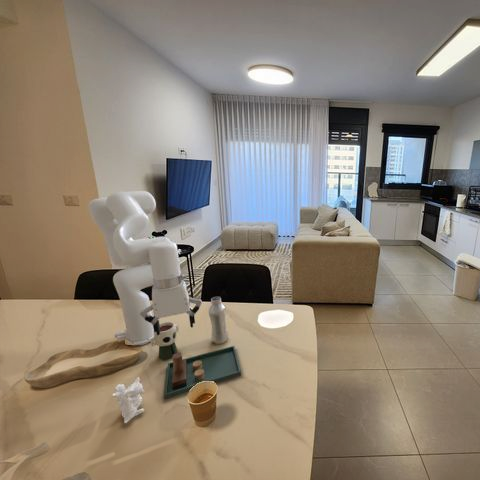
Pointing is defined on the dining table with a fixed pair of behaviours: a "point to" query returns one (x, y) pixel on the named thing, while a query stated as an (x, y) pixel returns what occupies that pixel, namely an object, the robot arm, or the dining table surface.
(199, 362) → the crumb
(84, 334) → the dining table surface
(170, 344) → the character mug
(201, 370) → the crumb
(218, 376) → the tray
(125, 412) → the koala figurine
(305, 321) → the dining table surface
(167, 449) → the dining table surface
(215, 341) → the plastic bottle
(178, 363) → the brush
